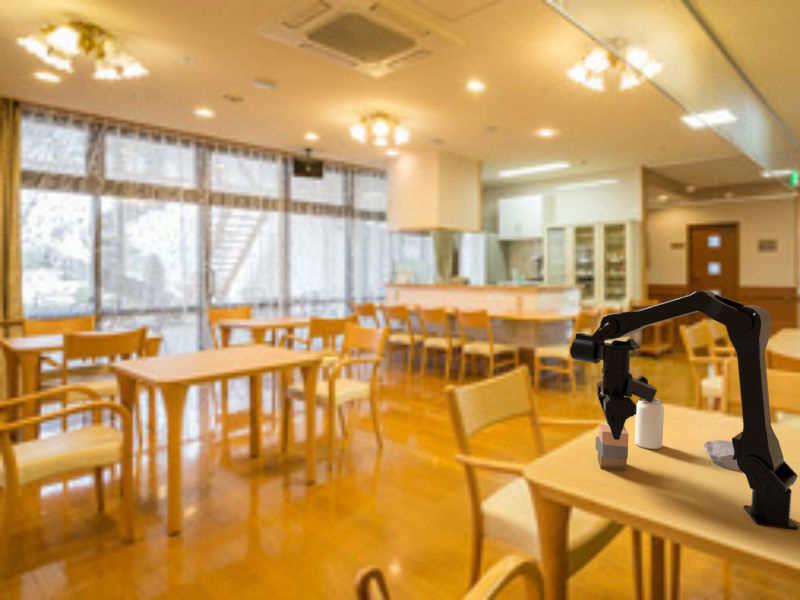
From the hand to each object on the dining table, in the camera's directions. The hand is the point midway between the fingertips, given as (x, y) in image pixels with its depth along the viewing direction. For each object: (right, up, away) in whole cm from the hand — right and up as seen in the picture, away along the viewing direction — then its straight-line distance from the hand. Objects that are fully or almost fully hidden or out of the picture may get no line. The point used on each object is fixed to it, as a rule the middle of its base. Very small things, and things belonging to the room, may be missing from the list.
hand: (613, 432), depth 112 cm
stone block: (+30, -9, +4) cm, 32 cm away
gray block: (0, -5, +1) cm, 5 cm away
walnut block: (0, -8, +1) cm, 8 cm away
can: (+15, -7, +14) cm, 22 cm away
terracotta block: (0, -2, 0) cm, 2 cm away
